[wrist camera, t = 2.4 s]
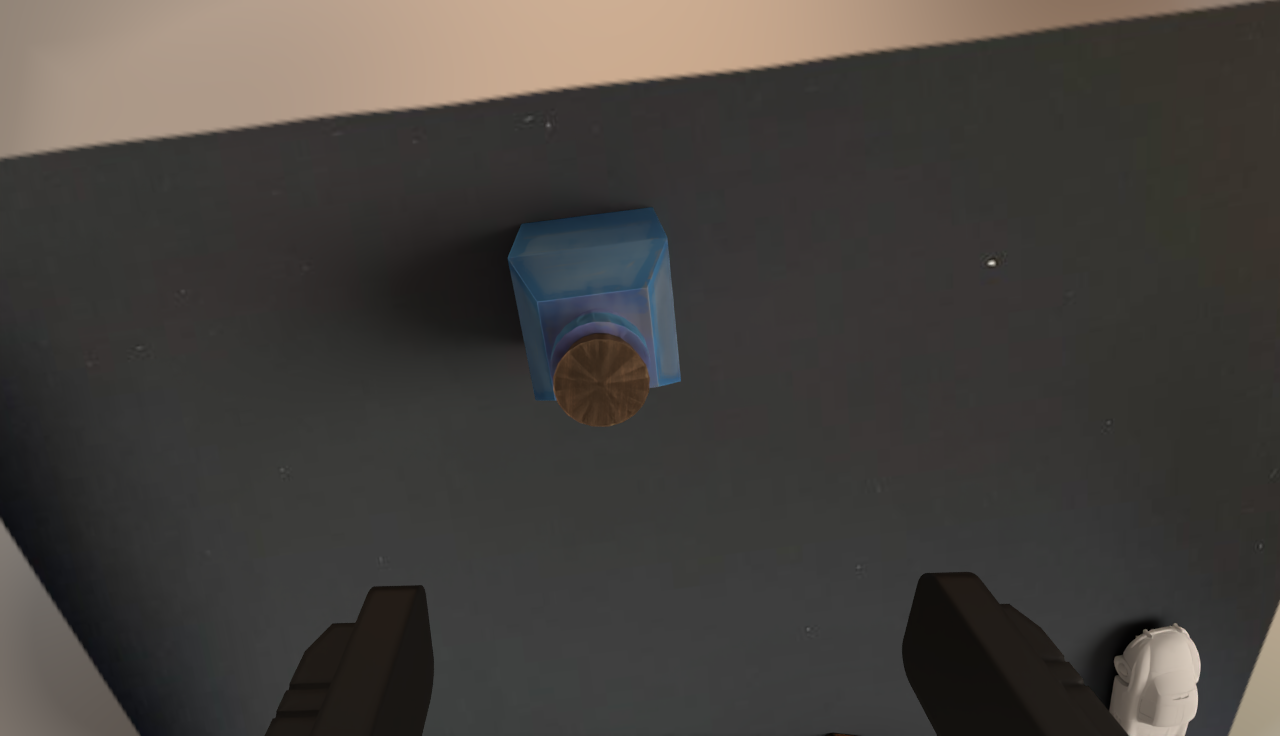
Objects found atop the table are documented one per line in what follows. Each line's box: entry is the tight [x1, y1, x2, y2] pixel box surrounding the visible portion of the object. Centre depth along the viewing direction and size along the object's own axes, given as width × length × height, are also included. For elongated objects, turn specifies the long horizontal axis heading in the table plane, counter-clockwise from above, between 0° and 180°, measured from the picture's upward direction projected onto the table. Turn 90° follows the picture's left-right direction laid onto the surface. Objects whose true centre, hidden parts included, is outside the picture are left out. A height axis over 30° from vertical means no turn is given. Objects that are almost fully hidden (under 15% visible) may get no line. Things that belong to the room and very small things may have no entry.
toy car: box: [1109, 623, 1200, 736], centre depth 46 cm, size 5×12×4 cm, turn 10°
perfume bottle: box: [508, 207, 681, 426], centre depth 27 cm, size 6×6×12 cm
